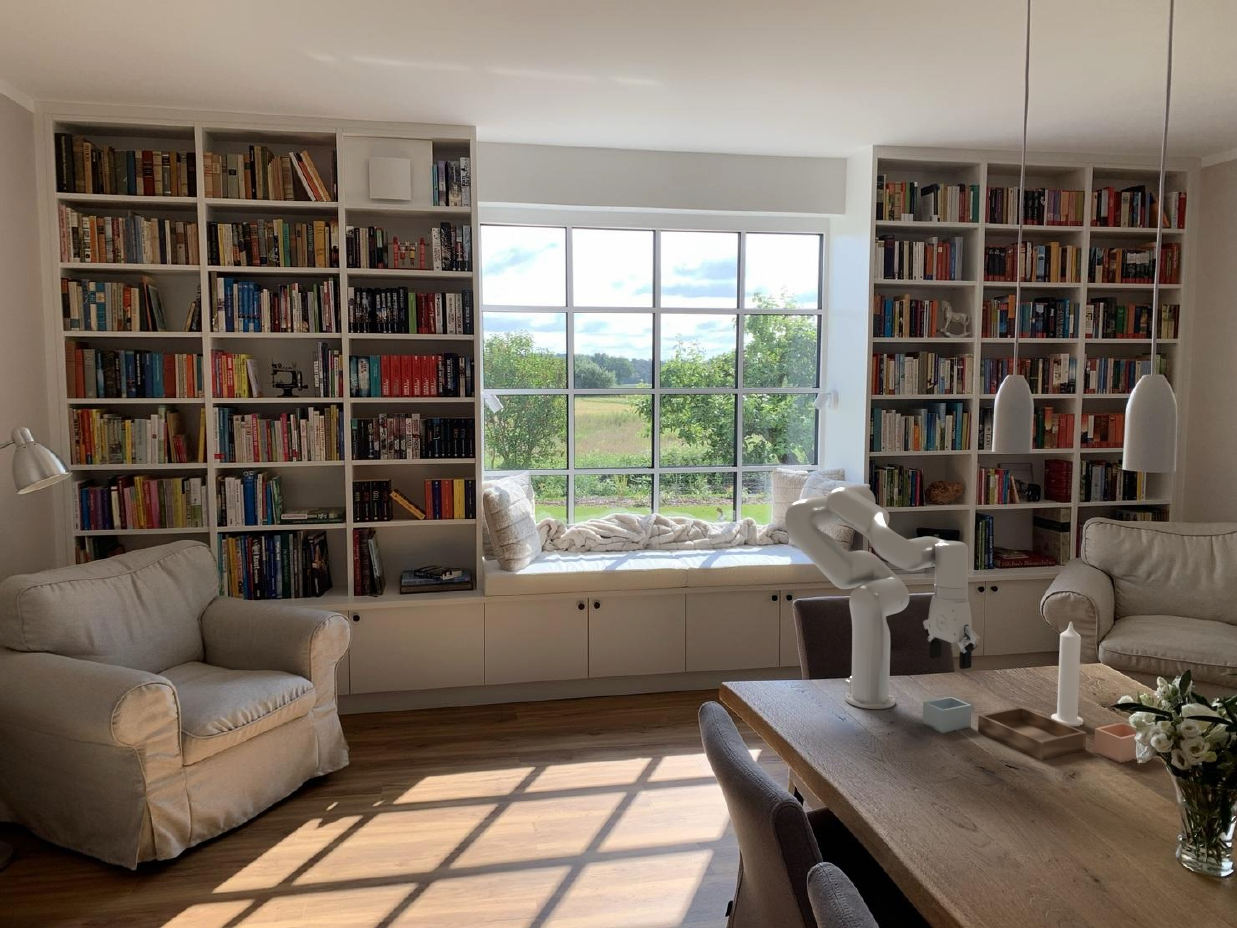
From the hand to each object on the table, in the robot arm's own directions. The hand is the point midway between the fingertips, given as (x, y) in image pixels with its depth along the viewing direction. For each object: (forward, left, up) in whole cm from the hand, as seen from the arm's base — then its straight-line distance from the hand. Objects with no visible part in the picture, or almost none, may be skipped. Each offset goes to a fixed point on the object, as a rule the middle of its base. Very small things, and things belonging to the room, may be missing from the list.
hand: (950, 662), depth 216 cm
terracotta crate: (+29, +23, -16) cm, 40 cm away
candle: (+10, +29, -16) cm, 34 cm away
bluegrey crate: (0, 0, -16) cm, 16 cm away
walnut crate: (+15, +11, -16) cm, 24 cm away
